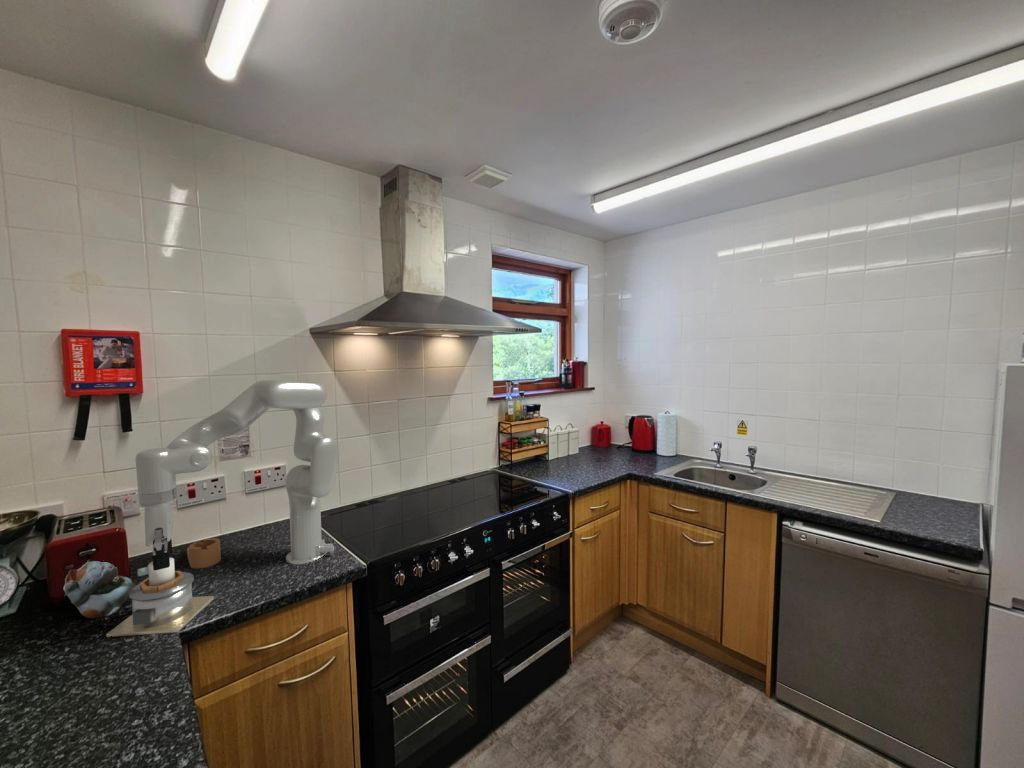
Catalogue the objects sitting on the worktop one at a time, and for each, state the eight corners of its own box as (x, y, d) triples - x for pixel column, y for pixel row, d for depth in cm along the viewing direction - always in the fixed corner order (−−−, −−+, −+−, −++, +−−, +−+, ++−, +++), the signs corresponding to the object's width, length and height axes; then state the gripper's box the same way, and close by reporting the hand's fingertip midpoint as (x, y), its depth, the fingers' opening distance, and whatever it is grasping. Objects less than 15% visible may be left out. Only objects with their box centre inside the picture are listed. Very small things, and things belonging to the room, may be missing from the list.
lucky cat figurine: (100, 624, 108) (91, 571, 107) (50, 629, 108) (41, 576, 107) (147, 591, 123) (140, 545, 122) (104, 595, 123) (96, 549, 122)
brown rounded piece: (222, 564, 141) (221, 543, 140) (191, 572, 135) (190, 551, 135) (214, 546, 154) (214, 528, 154) (186, 553, 149) (185, 534, 148)
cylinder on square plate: (213, 599, 119) (212, 563, 119) (177, 634, 104) (175, 592, 104) (152, 603, 118) (150, 566, 117) (106, 638, 103) (103, 596, 102)
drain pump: (175, 577, 114) (174, 552, 114) (174, 585, 110) (173, 560, 109) (140, 586, 110) (138, 560, 109) (137, 594, 106) (136, 568, 105)
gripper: (143, 491, 114) (148, 552, 115) (134, 509, 100) (140, 579, 101) (178, 485, 118) (183, 545, 120) (174, 502, 104) (180, 569, 106)
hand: (163, 560), depth 110 cm, fingers open, 9 cm apart
